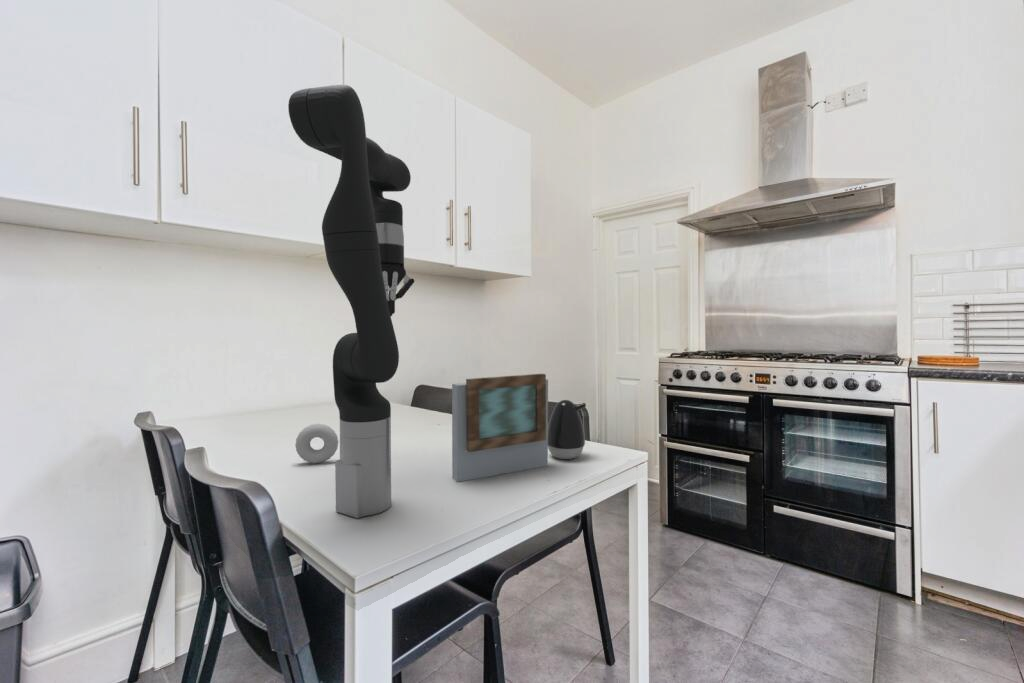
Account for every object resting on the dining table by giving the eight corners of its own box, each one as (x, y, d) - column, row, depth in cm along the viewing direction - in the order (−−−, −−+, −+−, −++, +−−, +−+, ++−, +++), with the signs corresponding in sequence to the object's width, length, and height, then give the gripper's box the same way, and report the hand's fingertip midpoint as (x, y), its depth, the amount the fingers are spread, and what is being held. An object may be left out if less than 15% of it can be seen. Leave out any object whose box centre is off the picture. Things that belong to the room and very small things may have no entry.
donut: (294, 466, 108) (293, 426, 108) (297, 462, 112) (296, 423, 111) (337, 463, 111) (337, 424, 110) (339, 459, 114) (339, 421, 114)
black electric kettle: (588, 462, 112) (589, 403, 112) (547, 462, 112) (548, 403, 112) (582, 451, 122) (582, 396, 122) (544, 451, 122) (545, 396, 122)
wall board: (457, 481, 98) (457, 385, 97) (452, 477, 101) (452, 383, 100) (547, 465, 110) (548, 379, 109) (541, 462, 112) (541, 378, 112)
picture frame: (469, 452, 97) (468, 379, 96) (466, 450, 98) (466, 378, 98) (545, 440, 107) (545, 374, 106) (542, 438, 108) (542, 373, 107)
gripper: (362, 239, 101) (363, 315, 101) (419, 244, 107) (419, 316, 108) (356, 244, 107) (357, 316, 108) (410, 249, 114) (410, 316, 114)
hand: (388, 316), depth 108 cm, fingers closed
